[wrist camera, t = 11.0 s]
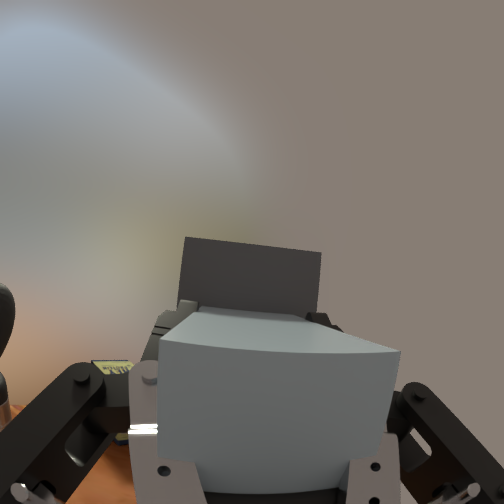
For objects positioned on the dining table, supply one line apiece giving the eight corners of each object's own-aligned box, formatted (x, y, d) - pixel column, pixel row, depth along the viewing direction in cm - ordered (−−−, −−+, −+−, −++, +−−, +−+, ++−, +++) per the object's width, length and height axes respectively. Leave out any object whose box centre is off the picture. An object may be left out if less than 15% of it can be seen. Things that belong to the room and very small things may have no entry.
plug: (403, 481, 4) (446, 202, 5) (106, 482, 4) (123, 150, 5) (273, 346, 23) (281, 267, 24) (192, 339, 22) (201, 258, 23)
